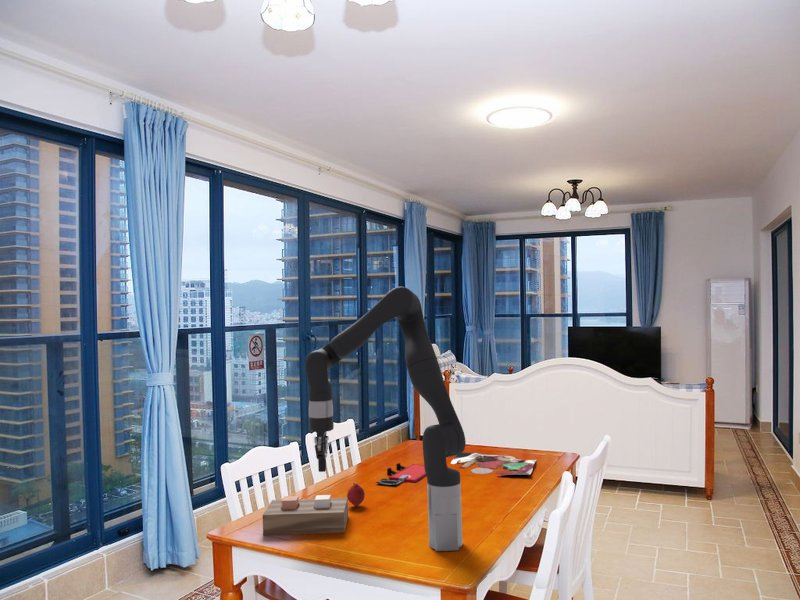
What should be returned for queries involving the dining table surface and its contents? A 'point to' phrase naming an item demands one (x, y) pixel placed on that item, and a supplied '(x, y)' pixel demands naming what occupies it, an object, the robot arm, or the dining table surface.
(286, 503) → the key terracotta
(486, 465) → the multicolored flat sheet
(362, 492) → the onion
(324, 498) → the white cube
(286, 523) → the wooden button box
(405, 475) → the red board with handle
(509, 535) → the dining table surface
